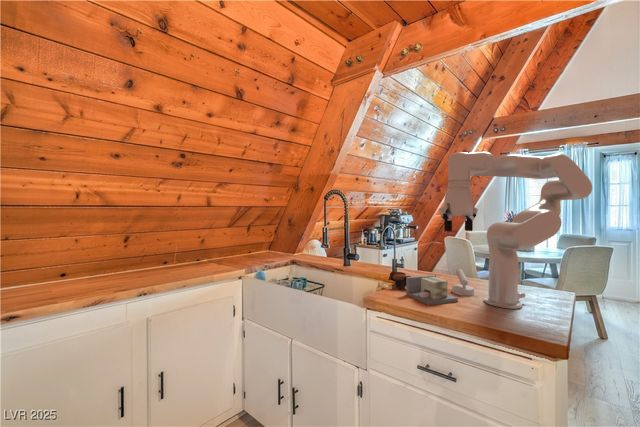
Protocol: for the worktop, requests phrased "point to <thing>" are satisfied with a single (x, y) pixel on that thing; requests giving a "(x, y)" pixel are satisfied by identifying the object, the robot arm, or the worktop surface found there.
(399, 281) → the pottery mug
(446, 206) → the robot arm
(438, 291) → the saddle block
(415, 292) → the board
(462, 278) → the wall hook
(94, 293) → the worktop surface
